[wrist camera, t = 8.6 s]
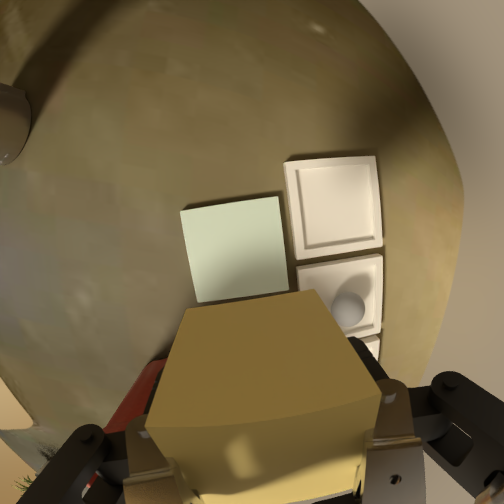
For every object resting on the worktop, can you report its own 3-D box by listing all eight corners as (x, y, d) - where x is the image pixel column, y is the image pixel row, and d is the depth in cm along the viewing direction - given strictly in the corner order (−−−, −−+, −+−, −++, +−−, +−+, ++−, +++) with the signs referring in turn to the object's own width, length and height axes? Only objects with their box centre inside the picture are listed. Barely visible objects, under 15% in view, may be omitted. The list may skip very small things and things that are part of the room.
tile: (181, 210, 25) (179, 211, 25) (276, 196, 25) (278, 196, 25) (198, 299, 28) (197, 302, 27) (287, 287, 28) (289, 290, 27)
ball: (325, 290, 27) (336, 303, 24) (357, 284, 27) (371, 296, 24) (327, 320, 28) (337, 336, 25) (357, 314, 28) (370, 328, 25)
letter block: (186, 308, 10) (144, 426, 5) (316, 288, 10) (385, 391, 5) (214, 399, 12) (206, 508, 6) (320, 383, 12) (359, 486, 6)
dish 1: (283, 163, 25) (285, 162, 24) (369, 156, 25) (375, 155, 24) (294, 256, 27) (297, 259, 26) (377, 244, 27) (382, 246, 26)
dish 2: (295, 266, 27) (298, 270, 26) (377, 253, 27) (382, 255, 26) (302, 343, 29) (304, 349, 28) (376, 327, 29) (380, 332, 28)
